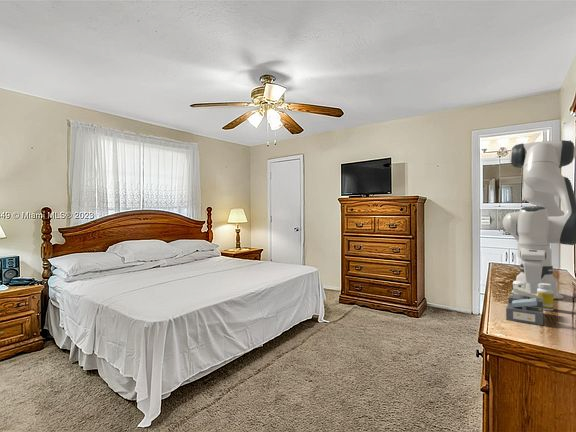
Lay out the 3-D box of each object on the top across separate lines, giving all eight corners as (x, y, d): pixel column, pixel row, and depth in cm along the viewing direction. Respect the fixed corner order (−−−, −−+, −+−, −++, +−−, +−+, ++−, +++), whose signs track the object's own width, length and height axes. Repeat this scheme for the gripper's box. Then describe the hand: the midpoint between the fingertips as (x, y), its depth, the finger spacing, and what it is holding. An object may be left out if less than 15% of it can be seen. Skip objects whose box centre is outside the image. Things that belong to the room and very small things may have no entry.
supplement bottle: (557, 311, 122) (556, 285, 122) (540, 310, 123) (540, 285, 124) (548, 307, 128) (548, 282, 128) (533, 306, 129) (532, 282, 129)
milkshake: (529, 304, 132) (529, 280, 132) (513, 303, 135) (513, 279, 135) (527, 302, 136) (527, 278, 136) (512, 300, 139) (512, 277, 139)
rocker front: (514, 304, 116) (512, 300, 117) (537, 302, 112) (536, 298, 112) (512, 307, 112) (511, 303, 112) (537, 305, 108) (535, 301, 108)
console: (510, 308, 126) (510, 291, 126) (543, 313, 120) (542, 294, 120) (506, 319, 112) (506, 300, 112) (542, 325, 105) (542, 304, 105)
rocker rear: (514, 289, 124) (515, 285, 124) (536, 296, 120) (537, 293, 119) (513, 291, 119) (514, 288, 119) (536, 299, 115) (537, 295, 115)
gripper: (523, 250, 121) (523, 287, 121) (520, 254, 105) (520, 297, 105) (544, 251, 117) (545, 289, 117) (545, 255, 101) (545, 299, 101)
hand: (533, 293), depth 111 cm, fingers closed
